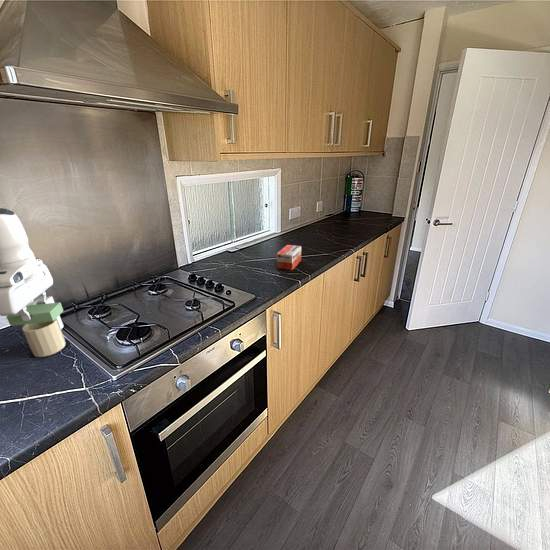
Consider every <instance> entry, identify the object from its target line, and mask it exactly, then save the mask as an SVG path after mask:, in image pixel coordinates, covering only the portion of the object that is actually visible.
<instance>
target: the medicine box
mask: <svg viewBox="0 0 550 550" xmlns="http://www.w3.org/2000/svg"><path fill="white" fill-rule="evenodd" d="M300 262H302V246H301V245H293V244H286V245H285V246H284V247H283V248H281V249H280V250H279V251H278V252H277V253H276V269H279V270H286V271H293V270H294V269H295V268H296V267H297V266H298V265H299V264H300Z"/></svg>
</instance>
